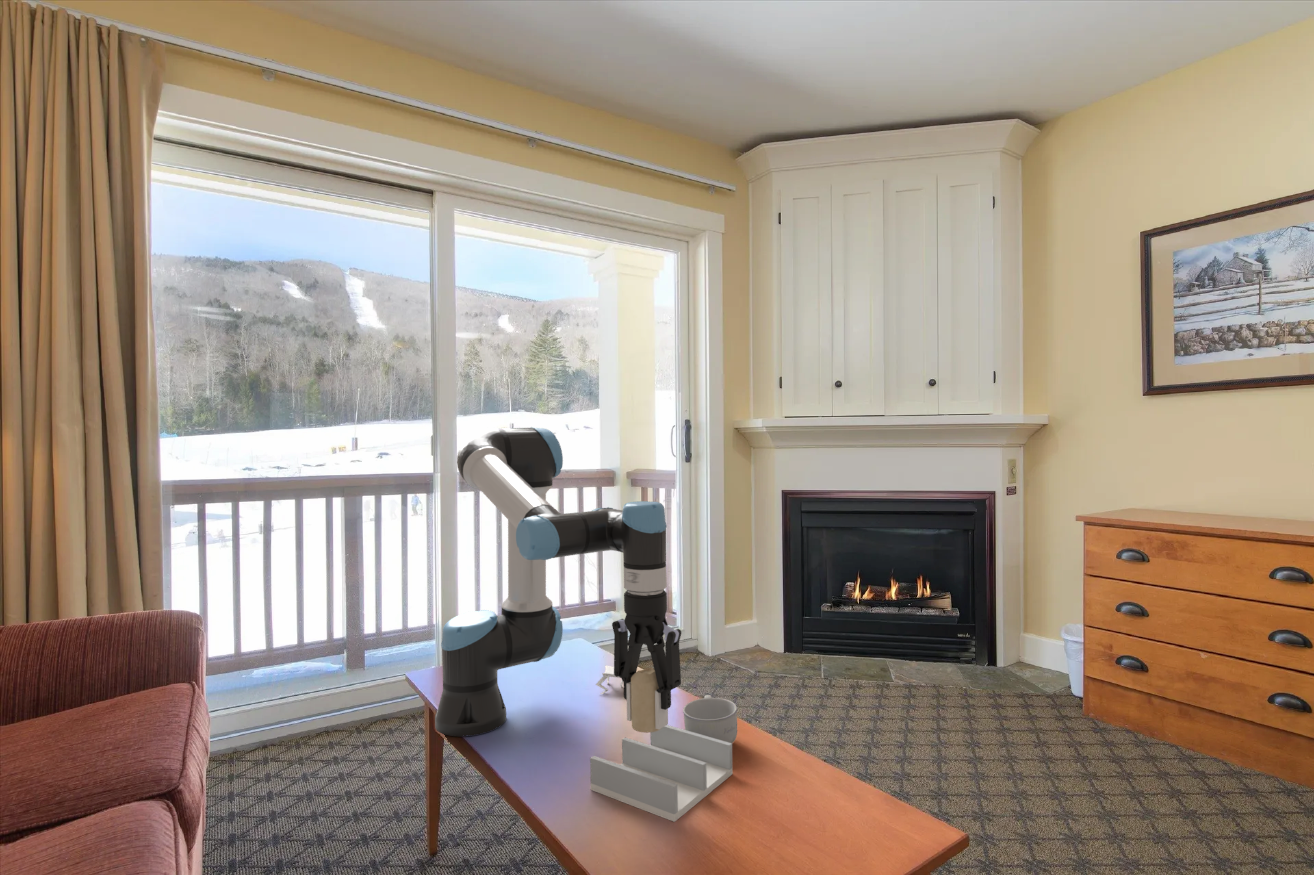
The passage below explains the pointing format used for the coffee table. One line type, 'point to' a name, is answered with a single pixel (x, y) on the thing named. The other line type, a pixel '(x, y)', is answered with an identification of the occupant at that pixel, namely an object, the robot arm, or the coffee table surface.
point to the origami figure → (607, 677)
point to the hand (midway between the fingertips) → (647, 721)
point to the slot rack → (664, 771)
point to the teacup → (712, 718)
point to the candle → (643, 700)
